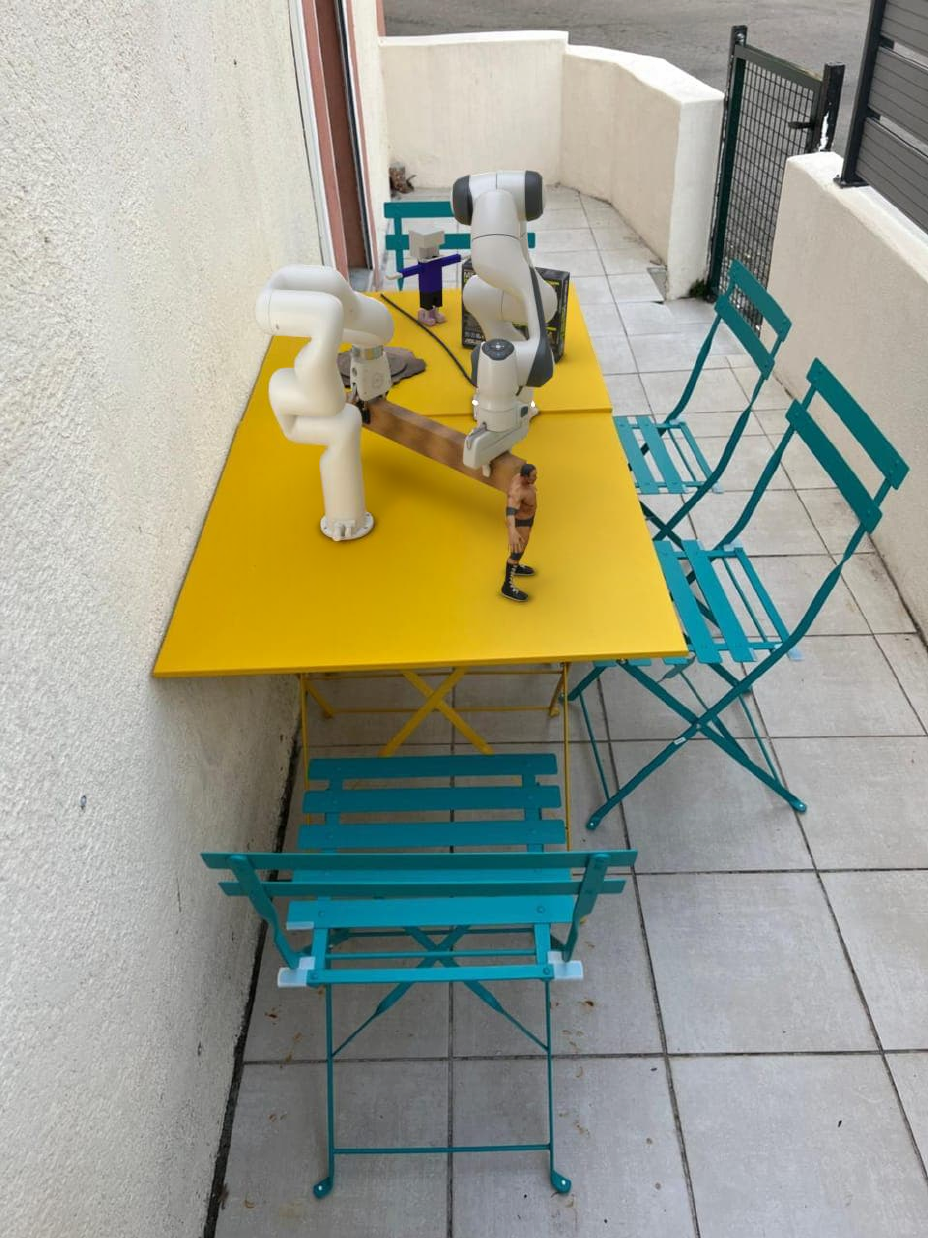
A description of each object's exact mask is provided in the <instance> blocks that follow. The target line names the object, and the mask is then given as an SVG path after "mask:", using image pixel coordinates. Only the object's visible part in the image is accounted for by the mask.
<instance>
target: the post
mask: <svg viewBox="0 0 928 1238" xmlns="http://www.w3.org/2000/svg"><path fill="white" fill-rule="evenodd" d="M350 394H351V390H350V391H347V392H346V403H349V402H348V399H349V396H350ZM356 400H357V398H356ZM349 404H351V403H349ZM362 404H363V400H362ZM352 405H353V404H352ZM354 406H355V405H354ZM355 407H356V406H355ZM357 408H358V407H357ZM358 409H359V408H358ZM367 409H369V413H370V424H366V423H364V422H362V429H365V430H368V431H370V432H372V433H375V434H377V435H378V436H381V437H383V438H385V439H387V440H389V441H392V442H394V443H396V444H398V445H400V446H402V447H405V448H407V449H409V450H411V451H413V452H415V453H417V454H420V455H422V456H424V457H425V458H428V459H430V460H432V461H435V462H437V463H439V464H441V465H444V466H445V467H447V468H449V469H452V470H454V471H456V472H458V473H461V474H463V475H465V476H466V477H470V478H472V479H473V480H475V481H478V482H480V483H482V484H484V485H486V486H489V487H490V488H492V489H494V490H497V491H499V492H501V493H504V494H506V495H507V491H508V488H509V484H510V482H511V479H512V478H513V476H515V475H516V474H518V473H520V472H521V468H522V466H523V465H524V464H528V461H527V460H526V459H524V458H522V457H519V456H517V455H515V454H513V453H511V454H510V453H508V452H506V451H505V452H503V453H502V454H500V455H499V456H497V457H496V458H494V459H493V460H491V461H490V464H489V467H491V468H493V471H492V472H493V473H492V475H490V476H489V477H487V476H484V475H483V468H482V467H480V468H479V469H477V470H474V469H471V468H469V467H467V466H465V465H464V464H463V451H464V443H465V439H466V437H467V436H468V435H469V434H466V433H464V432H462V431H459V430H457V429H454V428H452V427H450V426H447V425H446V424H443V423H442V422H439V421H437V420H434V419H431V418H429V417H427V416H424V415H422V414H420V413H418V412H415V411H413V410H411V409H408V408H406V407H405V406H401V405H400V404H397V403H395V402H392V401H389V400H388V399H387V400H385V399H383V398H381V397H378V396H377V397H375V398H373V399H370V400H368V406H367Z"/></svg>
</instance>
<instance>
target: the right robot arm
mask: <svg viewBox="0 0 928 1238" xmlns="http://www.w3.org/2000/svg"><path fill="white" fill-rule="evenodd" d="M449 197H450V198H449V199H450V200H449V202H450V209H451V212H452V214H453V217H454V219H455V221H457V222H458V223H459V224H460V225H463V226H469V227H470V240H469V241H470V243H469V244H470V253H471V260H472V267H473V269H474V271H475V273H476V274H477V275H473V276H472V277H471V278H470V279H469V280H468V281H467V282H466V284H465V286H464V289H463V303H464V306H465V308H466V309H467V311H468V312H469V313H470V314H471V315H472V316H473V317H474V318H475V319H476V320H477V322H478V323H479V325H480V326H481V328H482V330H483V333H484V335H485V338H486V342H481V343H480V344H478V345H477V346H476V347H475V348H474V349H473V350H472V351H471V352H470V364H471V372H470V376H469V375H468V373H467V372H466V370H465V369H464V367H463V366H462V365H461V363H460V362H459V361H458V359H457V358H456V357H455V355H454V354H453V352H452V351H451V350H450V349H449V348H448V346H447V345H446V344H444V342H443V341H442V340H440V338H438V336H437V335H435V333H433V331H431V330H430V329H429V328H428V327H427V326H425V324H423V323H422V322H420V321H418V319H416V318H415V317H413V316H412V315H411V314H409V313H408V312H406V311H405V310H404V309H402V308H401V307H399V306H398V305H397V304H395V303H394V302H393V301H391V300H390V299H388V298H387V296H385V295H384V294H383V293H380V297H382V299H384V300H386V301H387V302H388V303H389V304H391V305H392V306H393V307H395V308H396V309H397V310H399V311H400V312H401V313H403V314H404V315H405V316H407V317H408V318H410V319H411V320H412V321H414V322H415V323H416V324H417V325H419V326H420V327H422V328H423V329H424V330H425V331H426V332H428V333H429V334H430V335H431V336H432V337H433V338H434V339H435V340H436V341H437V342H438V343H440V345H441V347H443V348H444V349H445V351H447V353H448V354H449V356H450V357H451V358H452V359H453V361H454V362H455V363H456V365H458V368H459V369H460V370H461V372H462V373H463V375H464V377H465V378H466V379H467V380H468V381H469V383H471V385H472V386H473V387H475V393H473V396H472V399H473V400H472V404H473V419H474V420H475V421H476V424H477V426H476V427H473V428H472V429H470V431H469V433H468V434H467V435H468V436H467V437H466V439H465V443H464V451H463V464H464V465H465V466H467V467H469V468H471V469H474V470H477V469H479V468H480V467H482V468H483V475H484V476H487V477H489V476H490V475H492V473H493V472H492V471H493V468H491V467H489V464H490V461H491V460H493V459H494V458H496V457H497V456H499V455H500V454H502V453H503V452H505V451H506V452H508V453H510V454H512V451H513V447H515V446H516V445H518V444H519V443H521V442H522V441H524V440H525V439H526V438H527V437H528V435H529V431H530V421H531V419H532V418H533V417H535V416H537V415H538V414H539V409H538V408H537V407H536V406H535V402H534V388H538V389H539V388H542V387H543V386H545V385H546V384H548V382H549V381H550V380H551V379H552V378H553V376H554V372H555V362H554V357H553V353H552V350H551V347H550V342H549V338H548V333H547V327H546V324H547V323H548V322H549V321H550V320H551V319H552V318H553V316H554V314H555V312H556V309H557V296H556V293H555V291H554V289H553V288H552V287H551V286H550V285H549V284H547V283H546V282H545V281H544V280H543V279H542V278H541V276H540V275H539V274H538V272H537V271H536V269H535V267H536V266H535V265H534V264H533V261H532V259H531V255H530V250H529V249H530V248H529V241H528V226H527V223H528V222H532V221H535V220H538V219H540V218H541V216H542V215H543V214H544V211H545V208H546V207H547V202H548V189H547V186H546V183H545V180H544V177H543V176H542V175H541V174H540V172H538V171H535V170H528V169H527V170H525V171H521V170H498V171H493V172H485V173H480V174H479V173H478V174H475V175H470V174H467V175H463V176H460V177H458V178H456V180H455V181H454V182H453V184H452V189H451V192H450V196H449ZM511 322H513V323H520V324H526V325H527V326H528V331H529V337H530V338H529V340H526V338H525V337H524V336H523V335H522V334H521V333H520V332H519V331H517V330H516V329H515V328H514V326H513V325H512V323H511Z"/></svg>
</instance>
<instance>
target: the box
mask: <svg viewBox="0 0 928 1238" xmlns="http://www.w3.org/2000/svg"><path fill="white" fill-rule="evenodd" d="M534 267H535V269H536V271H537V272H538V274H539V275H540V276H541V278H542V279H543V280H544V281H545V282H546V283H547V284H549V285H550V286H551V287H552V288H553V289H554V291H555V293H556V296H557V309H556V312H555V314H554V316H553V318H552V319H551V320H550V321H549V322H548V323H547V324H546V327H547V333H548V338H549V342H550V347H551V350H552V353H553V357H554V363H557V362H559V360H560V359H561V358H562V356H563V355H564V354H565V343H566V331H567V329H566V328H567V315H568V303H569V293H570V292H569V290H570V279H571V272H568V271H566V270H561V269H554V268H553V269H552V268H545V267H540V266H539V267H538V266H534ZM473 275H477V274H476V273H475V271H474V269H473V267H472V260H471V258H468V259H465V260H464V262H463V263H462V264H461V274H460V277H461V281H460V282H461V287H460V288H461V290H460V291H461V292H460V293H461V300H460V301H461V304H460V305H461V347H463V348H468V349H473V350H474V348H475V347H476V346H477V345H478V344H480V343H481V342H486V338H485V335H484V333H483V330H482V328H481V326H480V325H479V323H478V322H477V320H476V319H475V318H474V317H473V316H472V315H471V314H470V313H469V312H468V311H467V309H466V308H465V306H464V303H463V289H464V286H465V284H466V282H467V281H468V280H469V279H470V278H471V277H472V276H473ZM511 323H512V325H513V326H514V328H515V329H516V330H517V331H519V332H520V333H521V334H522V335H523V336H524V337H525V338H526V340H529V338H530V337H529V331H528V326H527V325H526V324H520V323H513V322H511Z"/></svg>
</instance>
